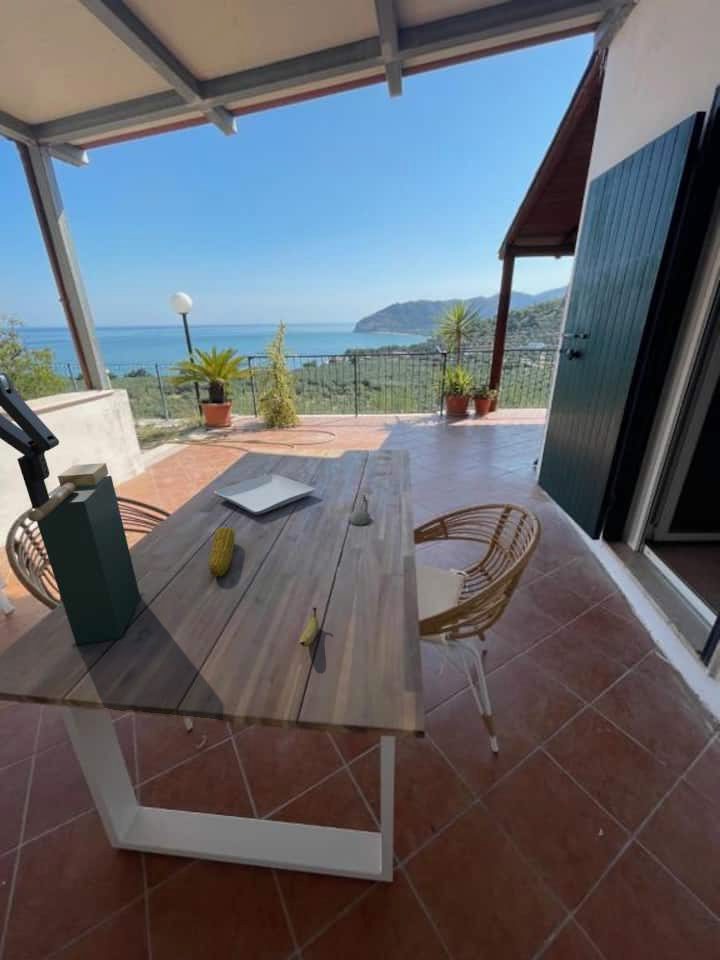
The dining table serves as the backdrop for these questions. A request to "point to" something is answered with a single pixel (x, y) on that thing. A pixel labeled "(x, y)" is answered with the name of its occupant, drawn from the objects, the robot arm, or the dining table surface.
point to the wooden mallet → (70, 486)
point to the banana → (310, 631)
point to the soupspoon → (360, 515)
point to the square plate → (264, 493)
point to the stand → (91, 562)
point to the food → (222, 551)
